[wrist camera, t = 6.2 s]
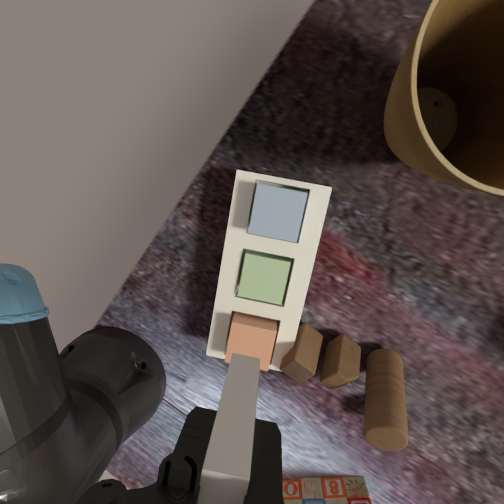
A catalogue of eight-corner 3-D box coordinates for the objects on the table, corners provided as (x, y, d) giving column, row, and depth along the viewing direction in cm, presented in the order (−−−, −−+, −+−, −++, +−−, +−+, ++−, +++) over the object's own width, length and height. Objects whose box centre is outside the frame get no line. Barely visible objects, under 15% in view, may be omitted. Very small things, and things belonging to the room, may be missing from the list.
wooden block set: (286, 329, 41) (262, 393, 32) (327, 296, 36) (311, 362, 27) (386, 408, 41) (387, 491, 33) (441, 386, 36) (459, 478, 28)
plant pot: (524, 109, 30) (783, 27, 15) (417, 220, 34) (537, 247, 18) (419, 12, 29) (579, -186, 14) (319, 135, 33) (357, 87, 17)
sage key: (241, 285, 36) (237, 295, 33) (248, 247, 35) (245, 253, 32) (281, 293, 36) (281, 305, 33) (289, 255, 35) (290, 262, 31)
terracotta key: (229, 345, 36) (224, 361, 33) (236, 309, 35) (231, 321, 32) (268, 354, 36) (267, 371, 33) (276, 317, 35) (276, 331, 32)
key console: (213, 338, 39) (205, 355, 35) (241, 171, 34) (236, 169, 30) (286, 354, 39) (287, 372, 35) (325, 187, 34) (332, 187, 30)
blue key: (251, 228, 33) (248, 233, 30) (259, 183, 32) (257, 183, 28) (294, 237, 33) (296, 242, 29) (304, 192, 32) (307, 193, 28)
